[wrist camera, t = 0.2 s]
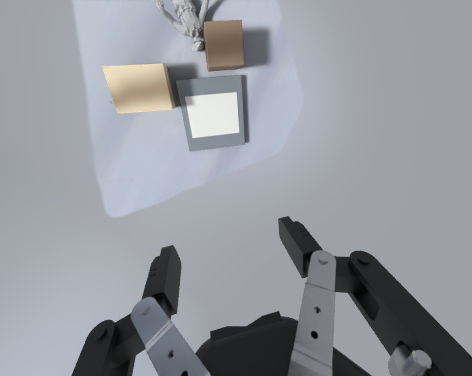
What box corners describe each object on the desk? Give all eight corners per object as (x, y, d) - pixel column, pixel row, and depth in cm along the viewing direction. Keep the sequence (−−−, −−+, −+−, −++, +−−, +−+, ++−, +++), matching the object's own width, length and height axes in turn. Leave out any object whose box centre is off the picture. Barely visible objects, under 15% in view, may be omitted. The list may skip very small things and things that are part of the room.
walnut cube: (203, 34, 29) (204, 21, 24) (234, 32, 30) (241, 20, 25) (207, 71, 32) (209, 67, 26) (236, 69, 32) (243, 64, 27)
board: (176, 80, 31) (175, 80, 30) (239, 75, 33) (241, 75, 31) (190, 149, 37) (189, 151, 36) (243, 143, 38) (245, 144, 37)
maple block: (116, 70, 29) (101, 66, 25) (167, 67, 30) (162, 63, 26) (128, 111, 32) (117, 113, 28) (175, 107, 33) (172, 109, 29)
